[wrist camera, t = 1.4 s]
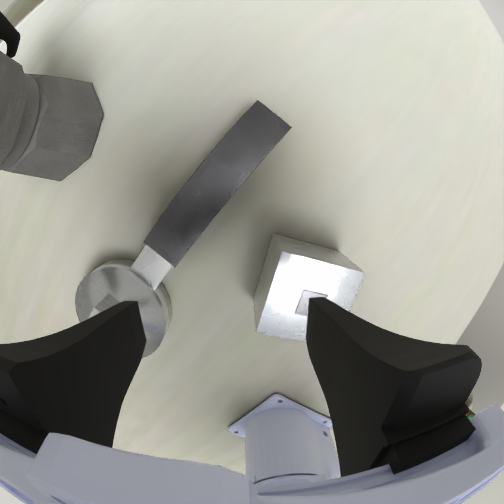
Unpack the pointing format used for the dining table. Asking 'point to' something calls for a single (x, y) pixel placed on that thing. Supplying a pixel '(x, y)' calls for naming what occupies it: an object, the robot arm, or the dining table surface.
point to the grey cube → (300, 285)
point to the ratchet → (181, 226)
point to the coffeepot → (43, 118)
